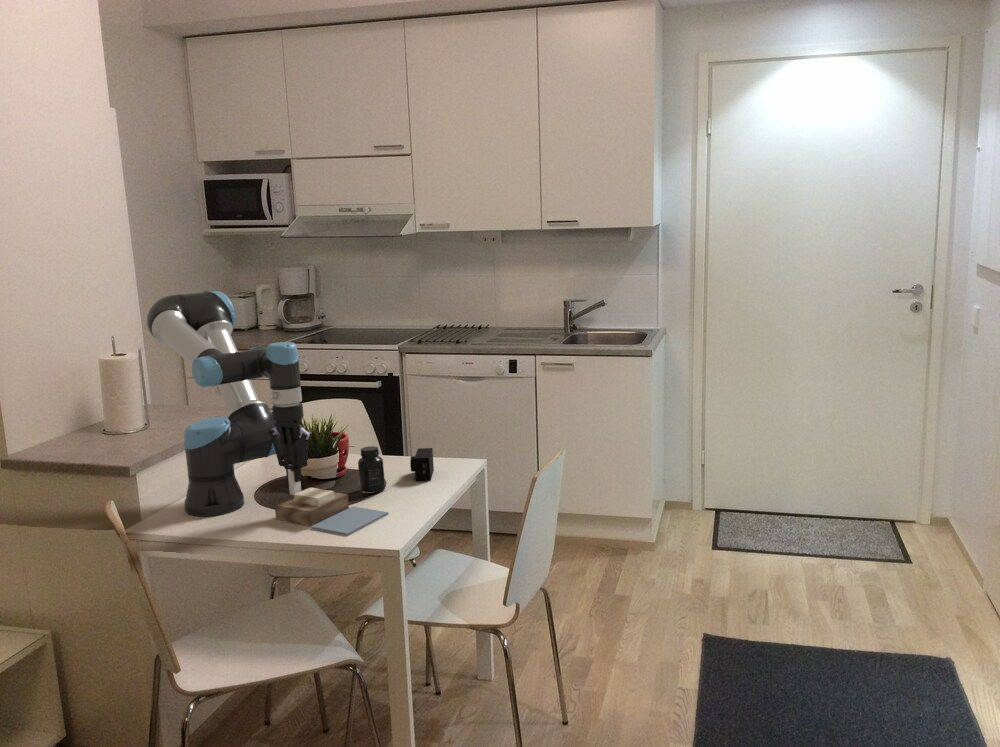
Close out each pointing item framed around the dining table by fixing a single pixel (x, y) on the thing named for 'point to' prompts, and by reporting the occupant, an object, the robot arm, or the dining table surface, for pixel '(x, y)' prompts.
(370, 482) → the supplement bottle
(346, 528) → the rubber mat
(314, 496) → the birch tile
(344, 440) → the plant pot
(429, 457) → the digital camera
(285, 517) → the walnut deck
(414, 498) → the dining table surface
